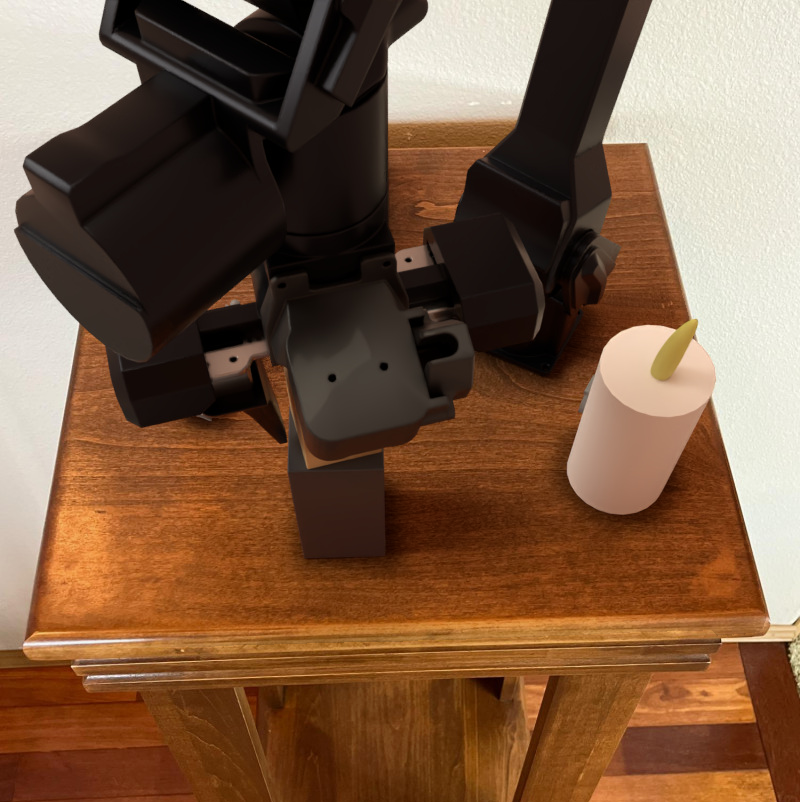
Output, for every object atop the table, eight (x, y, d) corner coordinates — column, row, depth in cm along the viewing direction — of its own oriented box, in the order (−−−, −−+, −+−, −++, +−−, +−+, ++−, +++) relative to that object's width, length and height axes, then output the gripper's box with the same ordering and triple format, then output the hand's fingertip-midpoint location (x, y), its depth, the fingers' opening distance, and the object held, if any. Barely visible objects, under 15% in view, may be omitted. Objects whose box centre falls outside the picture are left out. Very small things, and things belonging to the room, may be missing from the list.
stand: (383, 486, 58) (381, 391, 49) (385, 556, 55) (384, 469, 46) (305, 488, 57) (289, 393, 49) (303, 558, 55) (287, 471, 46)
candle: (585, 416, 60) (639, 248, 47) (678, 455, 59) (761, 293, 46) (548, 488, 58) (594, 331, 44) (644, 530, 56) (721, 381, 43)
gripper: (82, 407, 28) (183, 605, 42) (630, 287, 31) (557, 511, 45) (47, 171, 33) (148, 417, 47) (521, 85, 36) (485, 342, 50)
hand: (335, 424), depth 47 cm, fingers open, 5 cm apart
